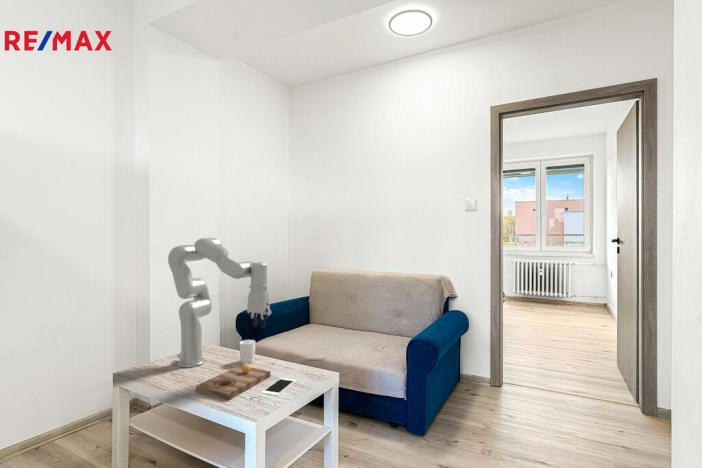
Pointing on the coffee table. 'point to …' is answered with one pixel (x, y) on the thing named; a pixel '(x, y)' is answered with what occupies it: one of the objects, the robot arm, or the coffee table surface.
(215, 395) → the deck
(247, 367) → the ball
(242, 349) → the white cup
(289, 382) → the cell phone
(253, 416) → the coffee table surface
